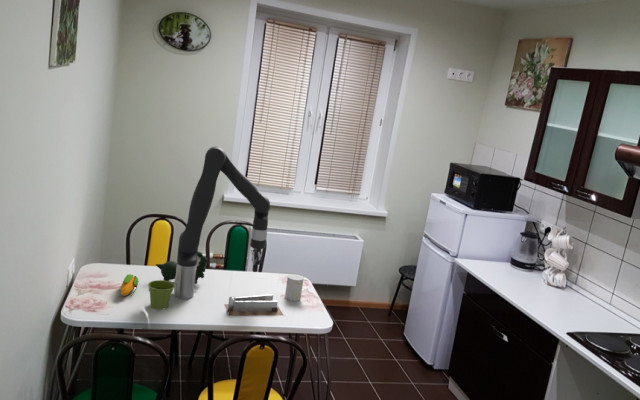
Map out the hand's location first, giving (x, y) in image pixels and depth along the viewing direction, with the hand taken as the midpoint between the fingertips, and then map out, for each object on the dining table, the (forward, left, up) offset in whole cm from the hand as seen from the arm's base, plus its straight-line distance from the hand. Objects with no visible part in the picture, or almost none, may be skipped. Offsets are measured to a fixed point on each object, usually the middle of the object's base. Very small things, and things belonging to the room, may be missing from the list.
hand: (254, 271), depth 266 cm
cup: (+23, +4, -16) cm, 28 cm away
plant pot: (-44, -6, -16) cm, 47 cm away
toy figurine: (-32, +25, -16) cm, 44 cm away
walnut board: (-1, -11, -16) cm, 20 cm away
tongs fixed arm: (-2, -11, -15) cm, 19 cm away
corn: (-57, +12, -17) cm, 61 cm away
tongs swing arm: (-1, -7, -15) cm, 17 cm away
